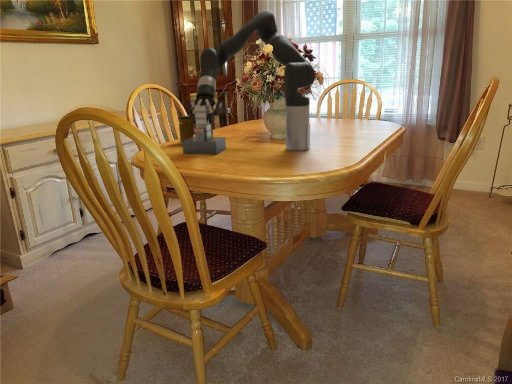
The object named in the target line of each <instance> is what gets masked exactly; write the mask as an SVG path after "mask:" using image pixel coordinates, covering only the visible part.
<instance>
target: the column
mask: <svg viewBox="0 0 512 384" xmlns="http://www.w3.org/2000/svg"><path fill="white" fill-rule="evenodd" d="M209 107H210V105H197V106H196V105H194V109H195V111H194V110H193V111H194V113H195V121H196V124H194V125H195V128H205V140H208V139H210V138H211V137H212V135H211V130H213V128H212V129H211V124H209V121H208V120H209V114H210V111H209Z"/></svg>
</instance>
